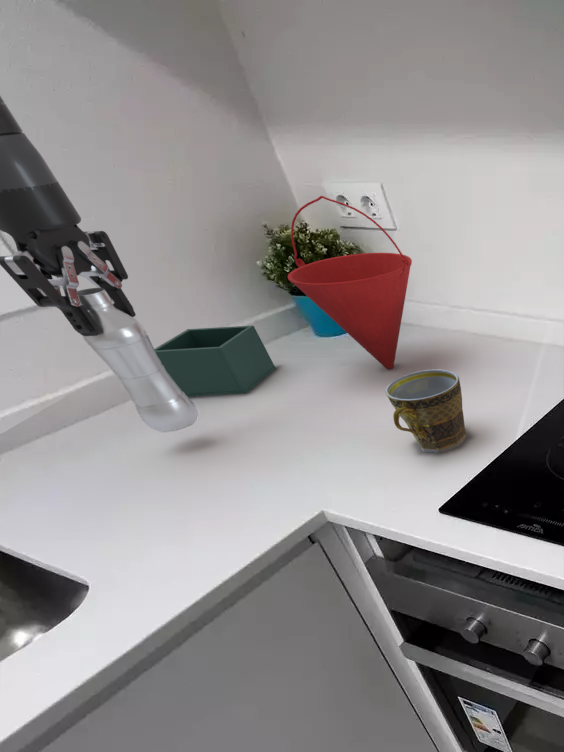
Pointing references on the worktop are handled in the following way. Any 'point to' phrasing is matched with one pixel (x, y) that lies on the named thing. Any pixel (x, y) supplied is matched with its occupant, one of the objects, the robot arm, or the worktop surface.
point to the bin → (216, 360)
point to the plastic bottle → (137, 364)
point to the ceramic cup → (429, 408)
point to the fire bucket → (359, 293)
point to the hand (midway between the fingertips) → (110, 325)
